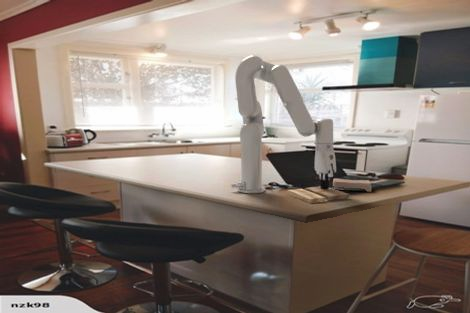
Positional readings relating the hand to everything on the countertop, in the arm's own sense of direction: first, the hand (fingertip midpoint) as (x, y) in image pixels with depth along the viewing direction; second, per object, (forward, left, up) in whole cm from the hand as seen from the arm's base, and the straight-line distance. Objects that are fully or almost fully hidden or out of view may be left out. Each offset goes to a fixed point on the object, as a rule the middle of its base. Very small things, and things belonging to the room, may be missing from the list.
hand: (324, 188), depth 155 cm
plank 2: (-2, -9, -2) cm, 9 cm away
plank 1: (-2, +1, -2) cm, 3 cm away
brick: (+17, +2, -3) cm, 17 cm away
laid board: (-12, -4, -2) cm, 13 cm away
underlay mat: (-6, -4, -2) cm, 8 cm away
